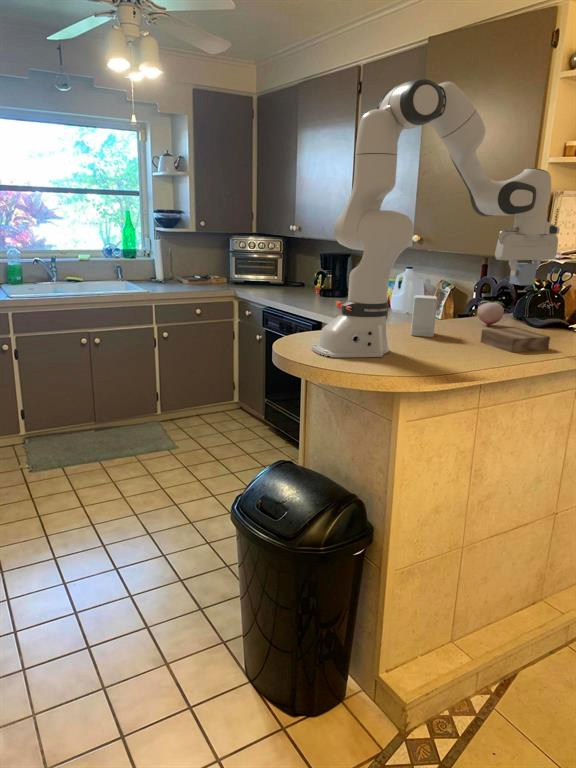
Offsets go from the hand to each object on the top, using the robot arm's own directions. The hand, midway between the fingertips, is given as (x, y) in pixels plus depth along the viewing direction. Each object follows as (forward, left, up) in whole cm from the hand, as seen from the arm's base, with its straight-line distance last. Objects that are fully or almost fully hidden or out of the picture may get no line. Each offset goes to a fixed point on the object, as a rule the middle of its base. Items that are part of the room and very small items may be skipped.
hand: (522, 275), depth 173 cm
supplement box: (-19, +22, -22) cm, 36 cm away
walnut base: (0, 0, -22) cm, 22 cm away
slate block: (0, 0, -3) cm, 3 cm away
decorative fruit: (+15, +30, -22) cm, 40 cm away
